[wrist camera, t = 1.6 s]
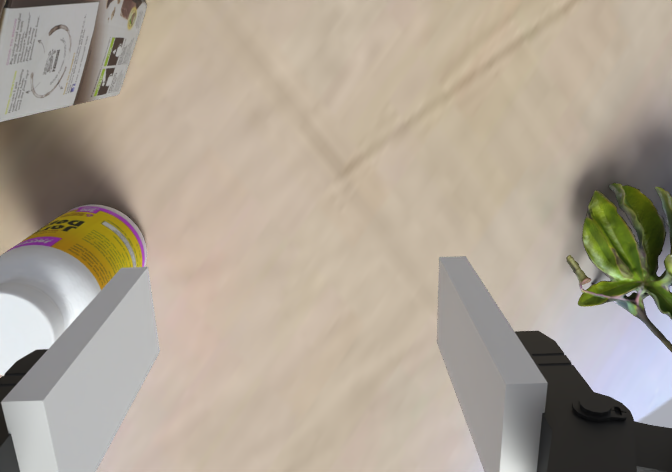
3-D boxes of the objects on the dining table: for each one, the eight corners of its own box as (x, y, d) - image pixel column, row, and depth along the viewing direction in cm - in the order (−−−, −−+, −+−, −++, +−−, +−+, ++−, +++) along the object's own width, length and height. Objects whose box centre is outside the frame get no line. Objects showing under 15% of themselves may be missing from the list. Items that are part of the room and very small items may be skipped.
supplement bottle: (114, 184, 40) (21, 249, 27) (167, 266, 42) (102, 360, 29) (33, 228, 40) (-93, 310, 28) (89, 306, 42) (-7, 414, 30)
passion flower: (653, 214, 47) (803, 317, 39) (546, 300, 47) (676, 421, 39) (654, 121, 38) (848, 231, 30) (524, 227, 38) (685, 364, 30)
